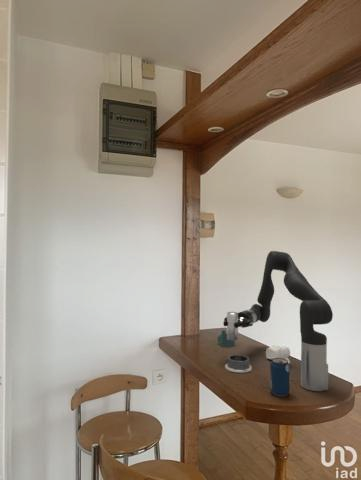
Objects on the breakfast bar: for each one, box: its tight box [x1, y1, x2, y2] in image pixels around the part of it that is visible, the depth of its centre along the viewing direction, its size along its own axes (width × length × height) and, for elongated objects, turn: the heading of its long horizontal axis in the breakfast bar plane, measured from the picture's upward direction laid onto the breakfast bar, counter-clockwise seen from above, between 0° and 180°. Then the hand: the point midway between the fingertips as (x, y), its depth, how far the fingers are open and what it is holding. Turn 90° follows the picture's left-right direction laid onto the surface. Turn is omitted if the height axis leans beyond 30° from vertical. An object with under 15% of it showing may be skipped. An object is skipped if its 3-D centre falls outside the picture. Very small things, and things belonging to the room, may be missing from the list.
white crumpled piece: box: [265, 345, 291, 365], centre depth 164 cm, size 9×8×15 cm
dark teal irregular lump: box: [217, 329, 236, 348], centre depth 192 cm, size 9×9×9 cm
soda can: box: [269, 358, 291, 397], centre depth 129 cm, size 7×7×12 cm
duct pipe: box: [226, 311, 239, 341], centre depth 161 cm, size 5×5×12 cm
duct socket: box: [224, 354, 253, 374], centre depth 155 cm, size 12×12×4 cm
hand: (230, 324), depth 159 cm, fingers closed on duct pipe, 5 cm apart
